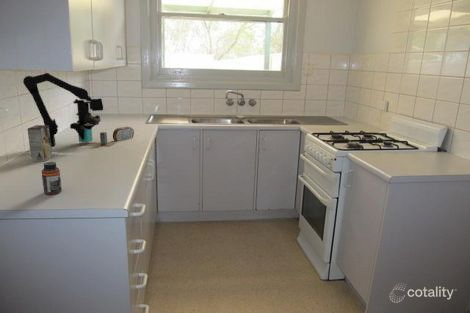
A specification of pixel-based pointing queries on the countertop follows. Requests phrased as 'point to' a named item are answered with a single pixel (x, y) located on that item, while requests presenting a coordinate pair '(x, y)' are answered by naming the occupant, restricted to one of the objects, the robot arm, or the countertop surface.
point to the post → (103, 138)
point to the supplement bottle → (51, 178)
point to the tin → (123, 133)
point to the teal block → (86, 136)
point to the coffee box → (40, 142)
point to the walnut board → (95, 144)
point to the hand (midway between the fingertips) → (85, 138)
